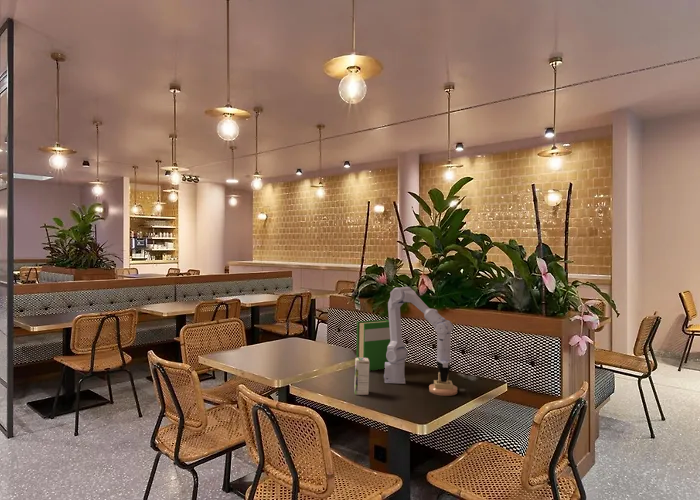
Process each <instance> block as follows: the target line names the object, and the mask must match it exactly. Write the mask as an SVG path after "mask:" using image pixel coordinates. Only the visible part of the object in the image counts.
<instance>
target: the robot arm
mask: <svg viewBox="0 0 700 500" xmlns="http://www.w3.org/2000/svg"><path fill="white" fill-rule="evenodd" d="M389 294H390V297H389V299H388V302H387V311H388V320H389V327H390V343H389V345H388V347H387V353H386V358H387V360H388V361H389V362H385V369H384V374H383V379H384V383H385V384H399V385H400V384H401V385H403V384H405V385H406V378H405V368H406V367H405V365H406V364H405V362H406V359H407V358H408V354H409V353H408V350H407V346H406V344H405V343H404V341H403V335H402V334H403V332H402V319H401V318H402V317H401V307H402V306H403V304H405V303H411V304H412V305H413V306H415V307H416V308H417V309H418V310H419V311H421V313H422V314H423V317H424V320H426V321H427V322H428V323H429V324H430V325H432V326H433V328H434V331H435V333H436V335H437V336H436V337H437V338H436V339H437V340H436V341H437V342H436V343H437V344H436V345H437V347H436V362H435V363H436V366H437V368H438V372H440V377H441V381H442V382H446V381H447V377H448V378H449V372H450V371H451V368H452V366H451V365H450V364H451V362H454V359H453V358H451V347H452V346H451V345H452V344H451V343H452V341H451V339H452V335H451V334H452V332H453V331H454V325H453V322H451V320H448V319H446V318H445V317H443V316H442V315H441V314H440V313H439V311H438V309H435V308H430V307H429V306H428V305H427V304H426V303H425V302H424V301H423V300H422V299H421V298H420V297H419V295H418V294H417V293H416V291H415V290H413V289H412V288H411V287H410V286H402V287H394V288H393V289H392V290H391V291H390V292H389Z"/></svg>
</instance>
